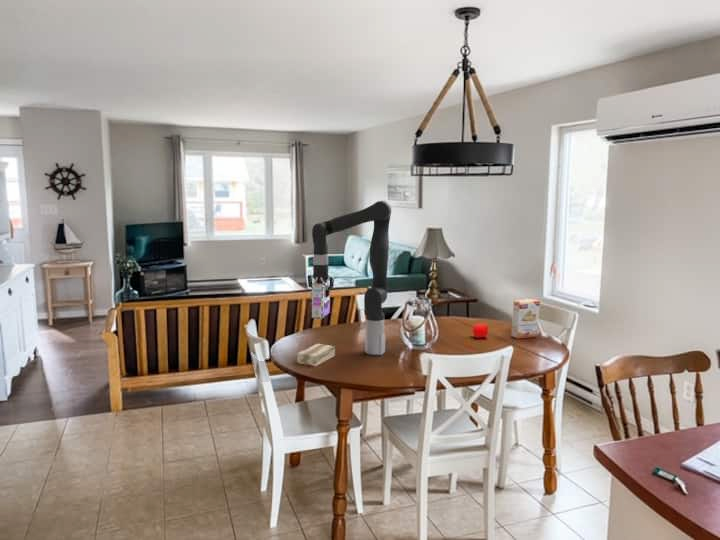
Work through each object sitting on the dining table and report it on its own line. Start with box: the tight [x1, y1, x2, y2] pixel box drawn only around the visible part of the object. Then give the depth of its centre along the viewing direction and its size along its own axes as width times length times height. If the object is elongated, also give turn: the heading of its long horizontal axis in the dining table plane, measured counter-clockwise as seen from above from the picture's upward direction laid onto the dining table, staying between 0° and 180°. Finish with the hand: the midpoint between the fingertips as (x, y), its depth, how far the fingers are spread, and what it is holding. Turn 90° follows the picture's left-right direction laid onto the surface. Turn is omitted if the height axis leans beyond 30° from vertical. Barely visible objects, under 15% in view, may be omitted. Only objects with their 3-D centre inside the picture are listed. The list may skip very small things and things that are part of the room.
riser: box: [296, 343, 336, 367], centre depth 246 cm, size 10×18×5 cm, turn 153°
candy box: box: [311, 281, 331, 319], centre depth 258 cm, size 14×6×16 cm, turn 167°
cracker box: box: [510, 298, 541, 340], centre depth 290 cm, size 14×6×21 cm, turn 111°
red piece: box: [472, 323, 489, 339], centre depth 288 cm, size 8×8×8 cm
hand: (320, 296), depth 258 cm, fingers closed on candy box, 6 cm apart
